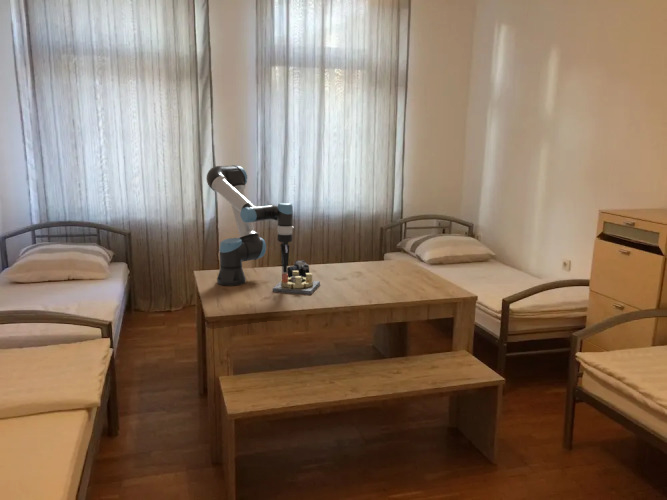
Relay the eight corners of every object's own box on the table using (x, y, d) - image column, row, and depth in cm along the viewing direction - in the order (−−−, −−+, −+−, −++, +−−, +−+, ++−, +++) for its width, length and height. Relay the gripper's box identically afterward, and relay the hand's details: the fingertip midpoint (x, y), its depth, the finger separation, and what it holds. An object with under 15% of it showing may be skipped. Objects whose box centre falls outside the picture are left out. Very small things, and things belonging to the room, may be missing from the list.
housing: (272, 291, 293) (272, 280, 292) (283, 282, 312) (284, 271, 311) (310, 294, 289) (310, 283, 288) (319, 284, 308) (320, 274, 307)
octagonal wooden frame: (299, 289, 289) (299, 279, 288) (275, 284, 298) (275, 274, 297) (318, 283, 302) (318, 273, 301) (294, 278, 311) (294, 268, 310)
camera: (283, 275, 327) (283, 258, 325) (299, 274, 332) (299, 257, 330) (294, 282, 313) (294, 264, 311) (311, 280, 318) (311, 262, 316)
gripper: (294, 235, 290) (293, 280, 295) (290, 231, 301) (289, 274, 307) (279, 236, 288) (279, 281, 293) (276, 231, 300) (275, 274, 305)
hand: (284, 277), depth 300 cm, fingers closed
